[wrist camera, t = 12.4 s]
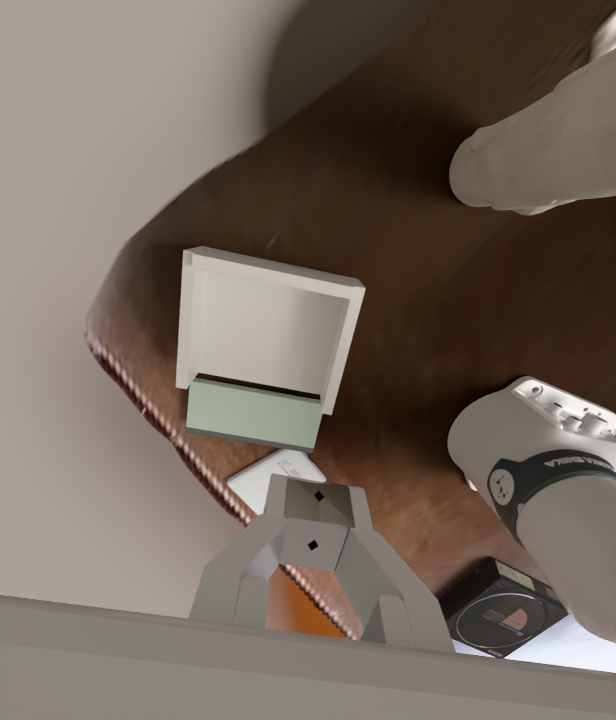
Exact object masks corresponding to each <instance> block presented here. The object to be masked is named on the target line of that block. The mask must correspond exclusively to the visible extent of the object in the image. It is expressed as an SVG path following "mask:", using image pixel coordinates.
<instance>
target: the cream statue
mask: <svg viewBox="0 0 616 720" xmlns="http://www.w3.org/2000/svg"><path fill="white" fill-rule="evenodd" d="M449 181H450V186H451V189H452V191H453V193H454V194H455V196H456V197H457V198H458V199H459V200H460V201H461V202H462V203H464V204H466V205H469V206H472V207H484V206H491V207H492V208H493V209H495V210H513V211H515V212H517V213H519V214H523V215H534V214H538V213H541V212H543V211H546V210H548V209H550V208H553V207H555V206H558V205H562V204H566V203H569V202H572V201H575V200H577V199H590V198H600V197H608V196H615V195H616V48H615V49H614V50H612V51H610V52H608V53H607V54H605V55H603V56H601V57H599V58H598V59H596V60H594V61H592V62H591V63H589V64H587V65H585V66H584V67H582V68H580V69H578V70H577V71H575V72H573V73H572V74H570V75H569V76H567V77H566V78H564V79H563V80H562V81H560V83H559V84H558V85H557V86H556V87H555V89H554V91H553V92H551V93H549V94H548V95H546V96H545V97H543V98H542V99H540V100H539V101H537V102H535V103H534V104H532V105H530V106H528V107H527V108H525V109H523V110H521V111H519V112H517V113H515V114H514V115H512V116H510V117H508V118H506V119H504V120H502V121H500V122H498V123H496V124H494V125H492V126H487V127H483V128H479V129H478V130H477V131H476V132H475V133H474V134H473V135H472V136H471V137H469V138H467V139H466V140H465V141H464V142H462V144H461V145H460V146H459V148H458V149H457V151H456V153H455V154H454V157H453V159H452V162H451V166H450V171H449Z"/></svg>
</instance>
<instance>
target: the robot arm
mask: <svg viewBox="0 0 616 720" xmlns="http://www.w3.org/2000/svg"><path fill="white" fill-rule="evenodd" d="M533 388H535V389H534V390H532V389H533ZM615 433H616V415H615V414H614V413H613V412H612V411H610V410H608V409H606V408H604V407H602V406H599V405H597V404H595V403H592V402H590V401H587V400H585V399H583V398H580V397H578V396H576V395H573V394H571V393H569V392H566V391H564V390H561V389H559V388H557V387H554V386H552V385H550V384H547V383H545V382H543V381H540V380H538V379H535V378H533V377H530V376H524V377H521V378H519V379H518V380H516V381H515V382H513V383H512V384H510V385H509V386H508V387H506V388H505V389H503V390H500V391H498V392H495V393H492V394H489V395H486V396H484V397H482V398H480V399H478V400H476V401H475V402H473V403H472V404H470V405H469V406H468V407H466V408H465V409H464V410H463V411H462V412H461V413H460V414H459V415H458V417H457V418H456V419H455V421H454V423H453V424H452V426H451V429H450V431H449V435H448V451H449V454H450V456H451V458H452V460H453V461H454V463H455V464H456V465H457V466H458V467H459V468H460V469H461V470H462V471H463V472H464V475H465V478H466V481H467V483H468V485H469V486H470V487H471V489H473V490H475V491H478V492H479V493H480V494H481V495H482V497H483V498H484V499H485V501H486V502H487V503H488V504H489V506H490V507H491V508H492V509H493V511H494V512H495V513H496V514H497V515H498V517H499V518H500V519H501V520H502V522H503V523H504V525H505V526H506V527H505V528H506V529H507V531H508V532H509V534H510V535H511V536H512V537H513V538H514V539H515V540H516V542H517V543H518V544H519V545H520V546H521V547H523V548H524V549H526V550H527V552H528V553H529V555H530V556H531V558H532V559H533V561H534V562H535V564H536V565H537V567H538V568H539V570H540V571H541V573H542V574H543V576H544V577H545V579H546V580H547V582H548V583H549V585H550V586H551V588H552V589H553V591H554V592H555V594H556V595H557V597H558V598H559V600H560V601H561V603H562V604H563V606H564V607H565V609H566V611H567V612H568V613H569V614H570V616H571V617H572V618H573V619H574V620H575V621H576V622H577V623H578V624H579V625H580V626H582V627H583V628H584V629H586V630H587V631H589V632H590V633H592V634H594V635H596V636H598V637H600V638H602V639H605V640H608V641H611V642H614V643H616V437H615ZM278 564H285V565H294V566H303V567H310V568H316V569H321V570H327V571H333V572H335V575H336V577H337V579H338V581H339V583H340V584H341V586H342V588H343V590H344V592H345V593H346V595H347V597H348V599H349V601H350V603H351V604H352V606H353V608H354V610H355V612H356V613H357V615H358V617H359V619H360V621H361V623H362V624H363V626H364V628H365V630H364V632H363V634H362V636H361V639H360V641H358V640H350V639H342V638H334V637H326V636H319V635H310V634H303V633H294V632H287V631H279V630H272V629H265V621H266V611H267V601H268V591H269V583H268V581H267V580H268V579H269V578H270V576H271V575H272V573H273V572H274V571H275V569H276V568H277V566H278ZM0 720H616V673H612V672H604V671H596V670H588V669H580V668H572V667H564V666H556V665H549V664H541V663H533V662H525V661H517V660H509V659H501V658H493V657H486V656H478V655H470V654H462V653H456V651H455V648H454V645H453V642H452V640H451V637H450V634H449V631H448V628H447V625H446V622H445V619H444V616H443V613H442V610H441V607H440V604H439V602H438V600H437V599H436V597H435V596H434V595H433V594H432V593H431V592H430V591H429V589H428V588H427V587H426V586H425V585H424V584H423V583H422V581H421V580H420V579H419V578H418V577H417V576H416V574H415V573H414V572H413V571H412V570H411V569H410V568H409V566H408V565H407V564H406V563H405V562H404V561H403V560H402V558H401V557H400V556H399V555H398V554H397V553H396V552H395V550H394V549H393V548H392V547H391V546H390V545H389V544H388V542H387V541H386V540H385V539H384V538H383V537H382V536H381V534H380V533H379V532H377V531H373V526H372V522H371V517H370V512H369V508H368V503H367V499H366V494H365V490H364V489H363V488H361V487H354V486H345V485H339V484H332V483H326V482H319V481H313V480H308V479H303V478H297V477H292V476H285V475H280V474H274V473H272V474H271V477H270V482H269V486H268V491H267V496H266V501H265V506H264V511H263V514H260V515H258V516H257V517H256V518H255V519H254V520H253V521H252V522H251V523H250V524H249V525H248V526H247V527H246V528H245V529H244V530H243V531H242V532H241V533H240V534H239V535H238V536H237V537H236V538H234V539H233V540H232V541H231V542H230V543H229V544H228V545H227V546H226V547H225V548H224V549H223V550H222V551H221V552H220V553H219V554H218V555H217V556H216V557H215V558H214V559H213V560H211V561H210V562H209V563H208V564H207V565H206V566H205V567H204V570H203V573H202V577H201V580H200V584H199V586H198V590H197V593H196V596H195V599H194V603H193V606H192V609H191V612H190V615H189V619H185V618H177V617H169V616H161V615H153V614H145V613H138V612H129V611H121V610H113V609H106V608H98V607H90V606H82V605H74V604H66V603H58V602H51V601H43V600H35V599H27V598H19V597H11V596H3V595H0Z"/></svg>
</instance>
